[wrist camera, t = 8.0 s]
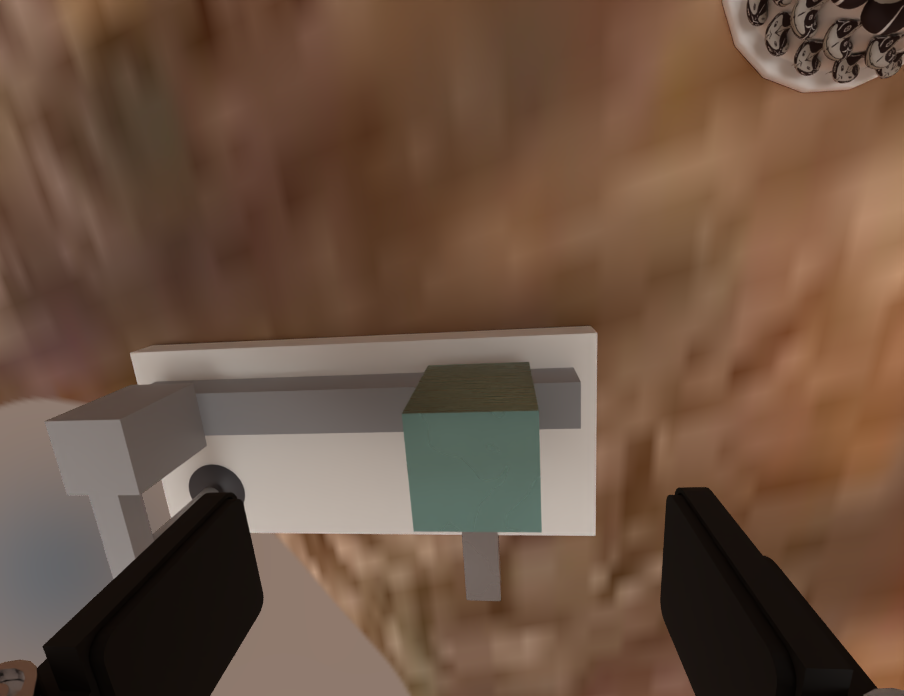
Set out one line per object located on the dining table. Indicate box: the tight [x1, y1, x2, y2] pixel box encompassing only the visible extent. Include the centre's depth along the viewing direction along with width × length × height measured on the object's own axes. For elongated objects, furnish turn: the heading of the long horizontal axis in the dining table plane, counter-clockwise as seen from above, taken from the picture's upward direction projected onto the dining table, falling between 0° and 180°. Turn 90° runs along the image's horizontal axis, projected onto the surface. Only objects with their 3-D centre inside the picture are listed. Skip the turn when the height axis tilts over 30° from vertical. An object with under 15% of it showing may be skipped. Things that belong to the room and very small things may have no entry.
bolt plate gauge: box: [45, 326, 597, 579], centre depth 20 cm, size 10×22×8 cm, turn 94°
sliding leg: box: [402, 362, 542, 601], centre depth 18 cm, size 8×4×7 cm, turn 4°
